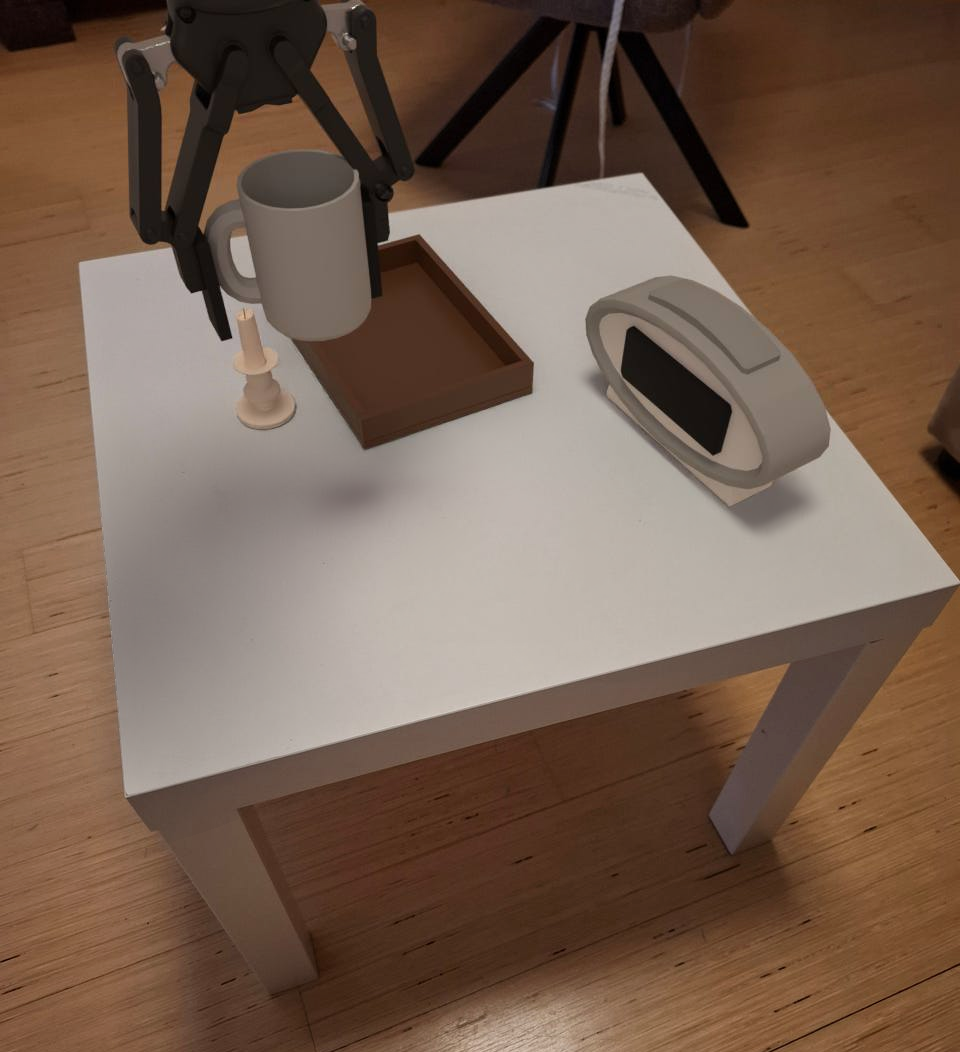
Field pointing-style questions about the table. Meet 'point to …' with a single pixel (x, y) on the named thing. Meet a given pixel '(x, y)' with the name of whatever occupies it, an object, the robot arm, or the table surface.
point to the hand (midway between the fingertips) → (296, 307)
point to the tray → (418, 352)
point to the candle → (259, 380)
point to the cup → (298, 243)
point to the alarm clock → (708, 384)
